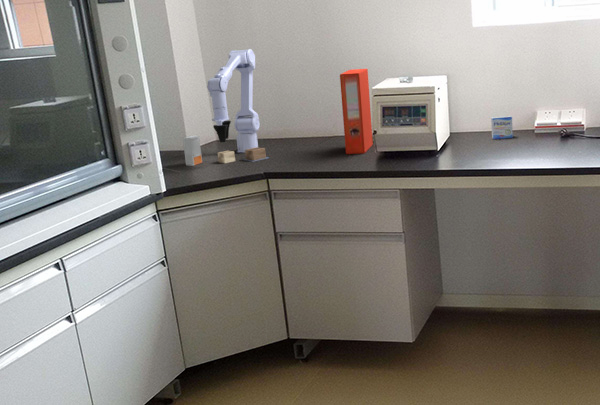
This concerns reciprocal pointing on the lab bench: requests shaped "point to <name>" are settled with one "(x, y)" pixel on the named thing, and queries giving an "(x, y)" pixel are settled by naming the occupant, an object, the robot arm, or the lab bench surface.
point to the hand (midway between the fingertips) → (224, 140)
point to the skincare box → (192, 150)
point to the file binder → (356, 111)
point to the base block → (255, 153)
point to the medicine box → (502, 127)
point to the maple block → (226, 156)
